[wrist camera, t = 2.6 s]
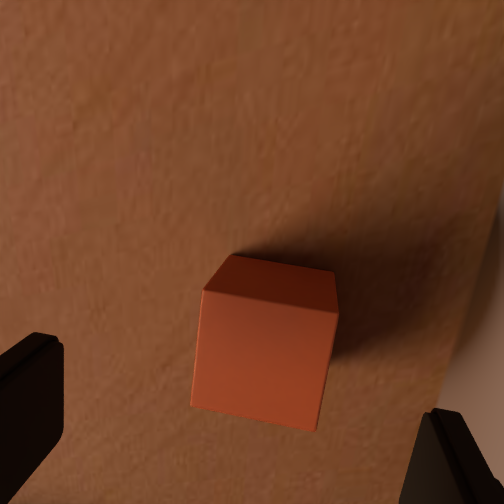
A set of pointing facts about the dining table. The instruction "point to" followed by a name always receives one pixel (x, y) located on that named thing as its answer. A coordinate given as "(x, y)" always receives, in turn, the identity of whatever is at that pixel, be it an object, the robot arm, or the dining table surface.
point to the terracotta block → (265, 341)
